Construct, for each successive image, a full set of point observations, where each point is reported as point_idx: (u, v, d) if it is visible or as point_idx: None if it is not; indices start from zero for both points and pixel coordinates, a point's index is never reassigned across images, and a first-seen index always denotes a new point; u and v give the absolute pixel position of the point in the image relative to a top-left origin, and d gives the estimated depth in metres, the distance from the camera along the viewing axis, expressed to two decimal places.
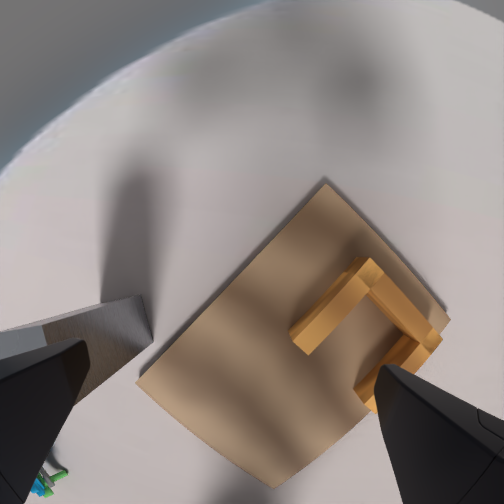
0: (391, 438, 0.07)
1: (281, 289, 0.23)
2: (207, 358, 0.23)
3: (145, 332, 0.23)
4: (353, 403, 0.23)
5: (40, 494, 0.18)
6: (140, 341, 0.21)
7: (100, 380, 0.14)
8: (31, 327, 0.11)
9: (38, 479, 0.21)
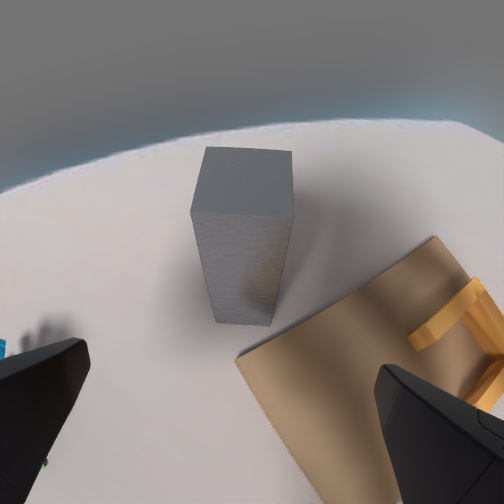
0: (391, 438, 0.07)
1: (404, 300, 0.23)
2: (329, 348, 0.21)
3: None
4: None
5: None
6: None
7: None
8: (274, 151, 0.14)
9: None
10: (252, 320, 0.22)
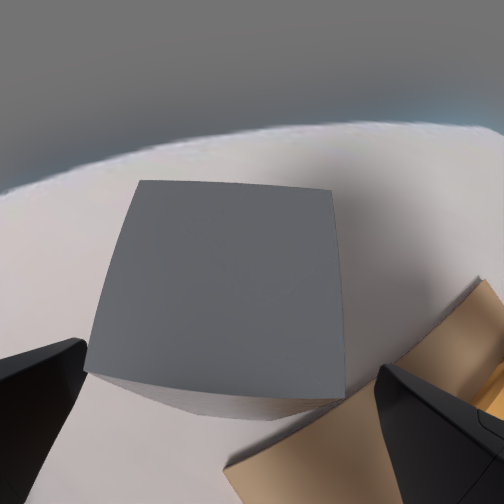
0: (391, 438, 0.07)
1: (450, 374, 0.15)
2: (352, 451, 0.13)
3: None
4: None
5: None
6: None
7: None
8: None
9: None
10: None
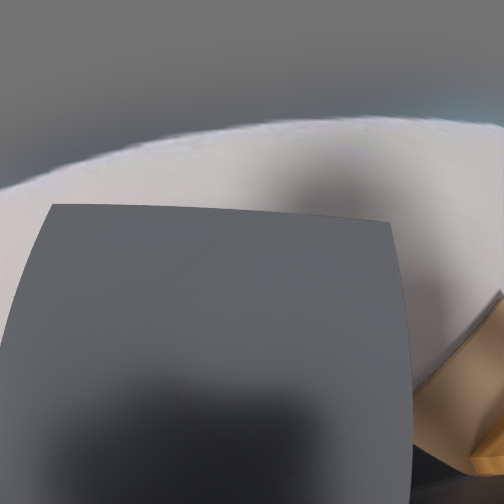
0: None
1: (471, 404, 0.12)
2: None
3: None
4: None
5: None
6: None
7: None
8: (319, 224, 0.03)
9: None
10: None
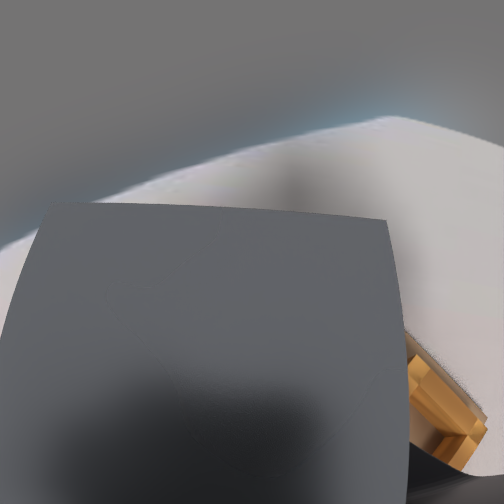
0: None
1: None
2: None
3: None
4: None
5: None
6: None
7: None
8: (315, 221, 0.03)
9: None
10: None
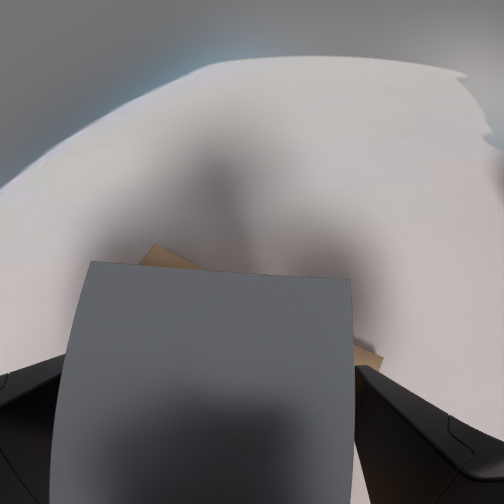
0: (361, 441, 0.07)
1: None
2: None
3: None
4: None
5: None
6: None
7: None
8: (295, 281, 0.05)
9: None
10: None
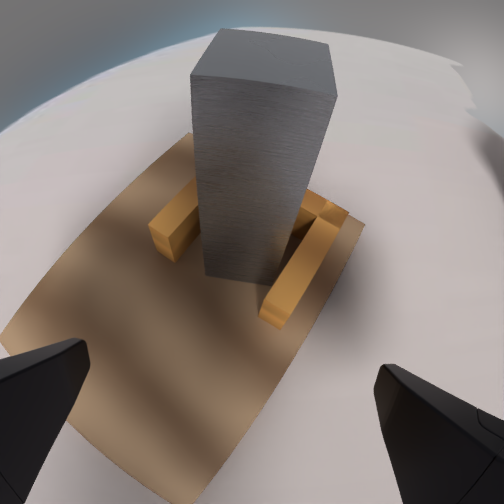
0: (391, 438, 0.07)
1: (148, 212, 0.21)
2: (70, 294, 0.17)
3: None
4: (266, 338, 0.17)
5: None
6: None
7: None
8: None
9: None
10: (251, 275, 0.18)
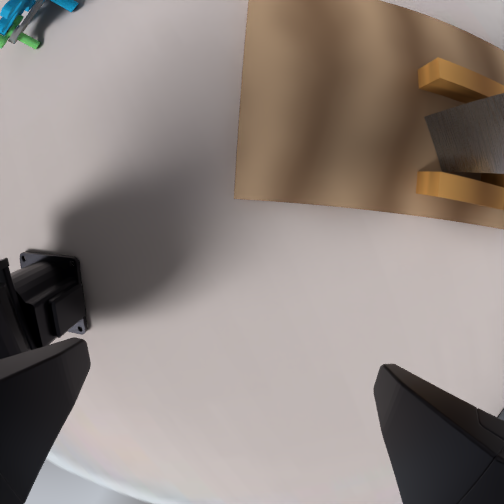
0: (391, 438, 0.07)
1: (436, 48, 0.16)
2: (339, 18, 0.16)
3: None
4: (405, 185, 0.19)
5: None
6: None
7: None
8: None
9: (13, 22, 0.14)
10: (444, 153, 0.17)
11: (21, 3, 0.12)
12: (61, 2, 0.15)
